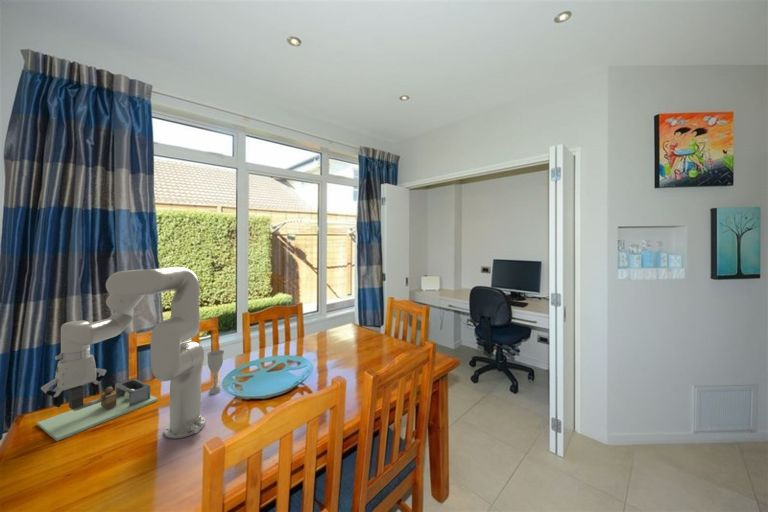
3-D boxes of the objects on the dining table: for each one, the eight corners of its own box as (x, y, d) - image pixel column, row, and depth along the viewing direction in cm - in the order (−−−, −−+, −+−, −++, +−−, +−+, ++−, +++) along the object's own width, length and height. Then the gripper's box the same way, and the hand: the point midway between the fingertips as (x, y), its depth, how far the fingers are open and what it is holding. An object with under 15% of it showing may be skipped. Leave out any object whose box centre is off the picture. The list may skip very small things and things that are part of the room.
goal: (150, 400, 126) (150, 384, 126) (130, 408, 120) (130, 391, 120) (134, 392, 132) (134, 377, 132) (114, 399, 126) (115, 383, 125)
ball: (139, 389, 126) (128, 391, 123) (137, 399, 126) (126, 401, 122) (135, 387, 128) (124, 388, 125) (132, 396, 127) (121, 398, 124)
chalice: (215, 396, 131) (215, 356, 131) (202, 394, 133) (202, 354, 132) (227, 388, 139) (227, 350, 138) (214, 386, 140) (215, 349, 139)
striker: (116, 405, 119) (116, 377, 118) (73, 421, 108) (73, 391, 107) (110, 402, 121) (110, 374, 121) (67, 417, 110) (67, 387, 109)
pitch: (157, 400, 126) (157, 398, 126) (56, 441, 99) (56, 438, 99) (135, 389, 134) (135, 387, 134) (37, 424, 108) (37, 422, 107)
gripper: (45, 365, 100) (45, 414, 100) (110, 349, 115) (110, 392, 116) (37, 360, 103) (37, 408, 104) (101, 346, 119) (101, 387, 119)
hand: (76, 399), depth 110 cm, fingers open, 9 cm apart
